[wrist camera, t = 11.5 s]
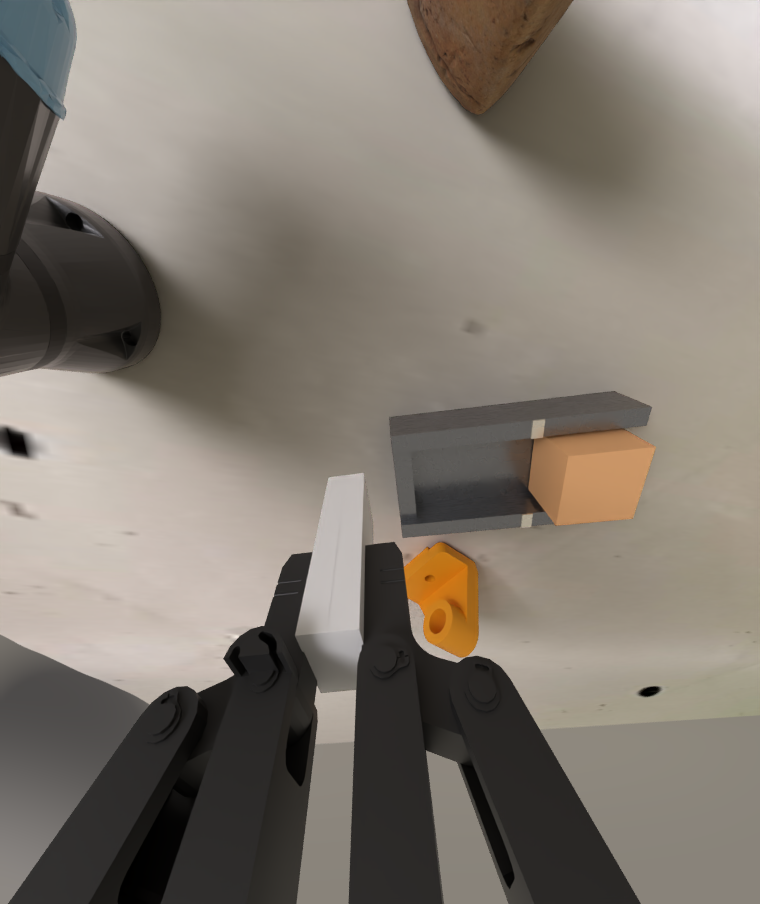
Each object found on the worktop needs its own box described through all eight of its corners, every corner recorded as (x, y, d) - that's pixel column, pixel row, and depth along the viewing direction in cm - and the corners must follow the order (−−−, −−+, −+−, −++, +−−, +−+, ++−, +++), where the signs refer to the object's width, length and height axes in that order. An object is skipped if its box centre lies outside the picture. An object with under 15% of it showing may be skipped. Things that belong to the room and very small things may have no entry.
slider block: (528, 489, 39) (555, 525, 33) (535, 427, 35) (568, 456, 29) (592, 482, 39) (632, 518, 33) (607, 419, 35) (656, 447, 29)
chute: (400, 510, 43) (402, 539, 38) (389, 417, 37) (390, 437, 32) (591, 491, 42) (620, 518, 36) (614, 391, 35) (653, 407, 30)
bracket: (438, 536, 45) (456, 610, 35) (473, 558, 47) (500, 634, 37) (393, 576, 49) (396, 654, 39) (426, 594, 51) (438, 673, 41)
